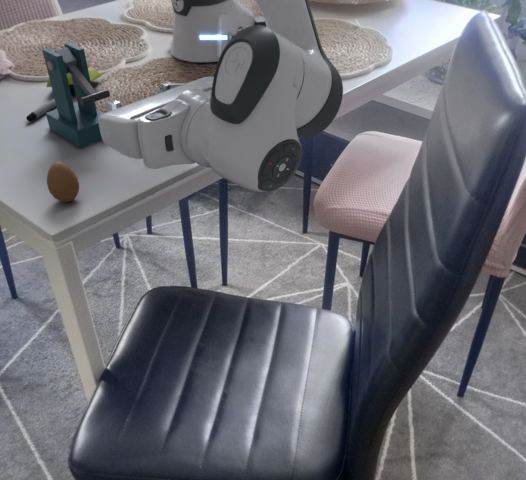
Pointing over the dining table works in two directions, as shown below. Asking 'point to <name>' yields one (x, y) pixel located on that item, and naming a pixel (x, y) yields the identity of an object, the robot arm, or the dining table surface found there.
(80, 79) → the lever
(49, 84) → the saucer
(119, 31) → the dining table surface
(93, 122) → the teal axle stand
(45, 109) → the pen
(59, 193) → the egg
